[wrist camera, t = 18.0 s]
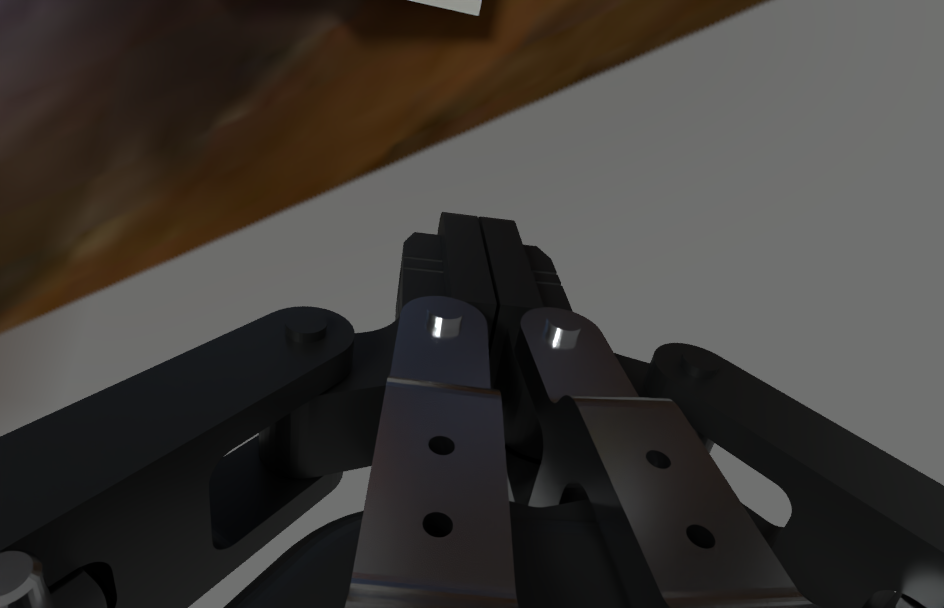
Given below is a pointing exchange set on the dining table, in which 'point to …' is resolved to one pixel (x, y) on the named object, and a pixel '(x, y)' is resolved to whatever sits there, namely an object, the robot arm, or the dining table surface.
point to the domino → (455, 5)
